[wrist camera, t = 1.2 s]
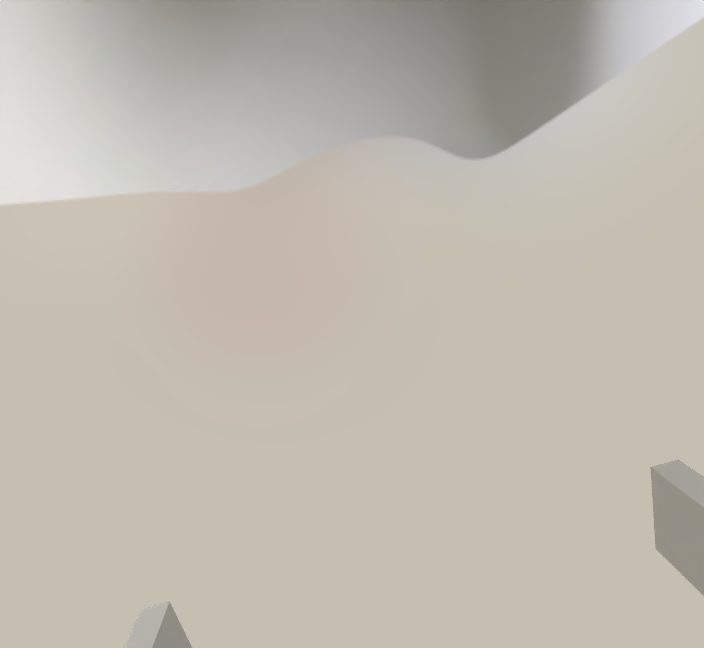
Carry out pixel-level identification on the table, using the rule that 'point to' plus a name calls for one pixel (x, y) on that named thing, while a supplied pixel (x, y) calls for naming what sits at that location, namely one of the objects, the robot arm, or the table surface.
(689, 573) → the robot arm
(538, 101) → the table surface
